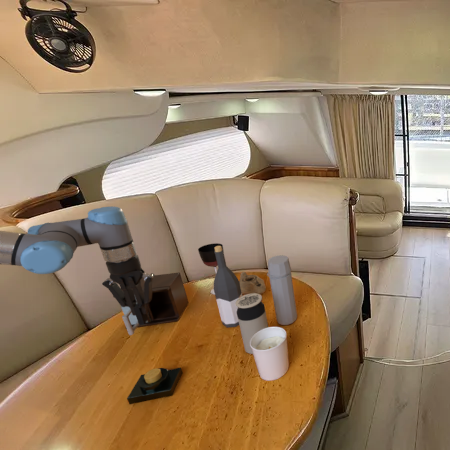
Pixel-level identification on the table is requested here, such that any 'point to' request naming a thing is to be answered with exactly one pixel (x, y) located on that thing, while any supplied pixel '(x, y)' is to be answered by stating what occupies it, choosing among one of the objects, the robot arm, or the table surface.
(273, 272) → the water bottle
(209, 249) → the wineglass
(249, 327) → the travel mug
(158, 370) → the button
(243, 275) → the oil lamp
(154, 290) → the cabinet
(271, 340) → the candle holder
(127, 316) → the glass door
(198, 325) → the table surface
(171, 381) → the button block
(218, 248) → the wine bottle
